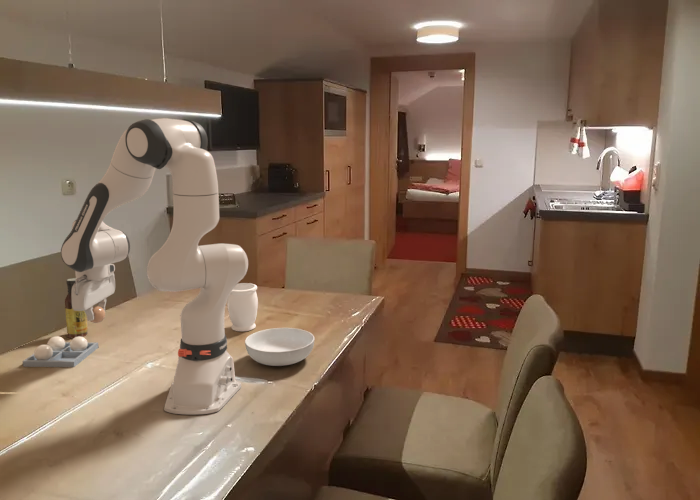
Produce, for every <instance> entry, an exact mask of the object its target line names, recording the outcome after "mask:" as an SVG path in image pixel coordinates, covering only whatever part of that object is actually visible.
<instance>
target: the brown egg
mask: <svg viewBox="0 0 700 500" xmlns="http://www.w3.org/2000/svg"><path fill="white" fill-rule="evenodd" d="M92 310H93V313H95V319H94V320H93V321H90V322H91V323H92V324H99V323H101V322H103V320H104V319H105V317H106V310H105V311H104V309H103V308H101V307H99V306H98V305H93V309H92Z"/></svg>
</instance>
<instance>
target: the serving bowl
mask: <svg viewBox="0 0 700 500" xmlns="http://www.w3.org/2000/svg"><path fill="white" fill-rule="evenodd" d="M244 345H245V350H246V352H247V354H248V355H249V357H250V358H251V359H252V360H253V361H255V362H257V363H259V364H261V365H264V366H265V365H266V366H272V367H282V366H283V367H284V366H290V365H293V364H296V363H299V362H301V361H303V360H305V359H306V358H307V357H308V356H309V355H310V354H311V353H312V351H313V349H314V345H315V336H314V334H313V333H312V332H310V331H307V330H305V329H301V328H294V327H275V328H267V329H262V330H259V331H256V332H254V333H251V334H249V335H248V336H247V337H246V338H245V339H244Z"/></svg>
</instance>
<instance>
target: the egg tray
mask: <svg viewBox="0 0 700 500" xmlns="http://www.w3.org/2000/svg"><path fill="white" fill-rule="evenodd" d="M70 342H71V341H70ZM70 342H68V341H67V342H66V341H65V347H64V349H63V350H62V351H53V355H52V357H51V358H50V359H49V360H37V359H36V358H35V356H34V353H32V354H31V355H30V356H28V357H27V358H25V359H24V360H22V367H28V368H31V367H32V368H33V367H35V368H38V367H39V368H42V367H43V368H47V367H48V368H76V366H77V365H79V364H80V363H81V362H82V361H84V360H85V359H86V358H87V357H89V356H90V355H92V354H93V353H94V352H95V351H96V350H98V348H99V342H88V341H87V342H88V346H87V348H86V350H84V351H72V350H71V348H70Z"/></svg>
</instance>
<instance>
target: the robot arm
mask: <svg viewBox="0 0 700 500" xmlns="http://www.w3.org/2000/svg"><path fill="white" fill-rule="evenodd" d="M208 141H209V139H208V135H207V132H206V130H205V128H204V127H203V126H202V125H201V124H200V123H198V122H196V121H194V120H191V119H178V118H177V119H176V118H175V119H174V118H169V117H168V118H167V117H163V118H154V119H149V118H148V119H147V118H144V119H141V120H138V121H135V122H134V123H132V124H130V126H129V127H128V128H126V129H125V130H124V131H123V133H122V134H121V136H120V138H119V140H118V142H117V144H116V146H115V149H114V151H113V154H112V157H111V160H110V163H109V166H108V168H107V170H106V172H105V173H104V175H103V176H102V178H101V179H100V180H99V181H98V182H97V183H96V184H95V185H94V186H93V187H92V188H91V189H90V191H89V192H88V194H87V197H86V198H85V200H84V202H83V205H82V207H81V209H80V211H79V214H78V216H77V218H76V219H75V220H74V221H73V222H72V226H71V231H70V232H69V233H68V235H67V236H66V237H65V239H64V241H62V242H63V243H62V244H61V249H60V256H61V260H62V262H63V264H65V265H66V266H67V267H68V268H70V269H71V270H73V271H74V272H75V278H76V281H75V284H74V285H73V286H72V292H71V296H72V308H73V310H74V311H84V312H85V313H86V315H87V322H88V321H89V322H91V321H93V320H94V319H95V313H93V310H92V309H93V307H94V306H96V305H97V304H98V305H97V306H99V307H101V308H103V309H104V311H105V312H106V304H107V298H109V297H110V296H111V295H113V294H115V290H116V279H115V273H114V272H115V270H116V266H115V263H119V262H122V261H124V260H126V259H127V257H129V254H130V251H131V242H130V239H129V237H128V236H127V234H126V233H125V232H124V231H122V230H121V229H116V228H114V227H111V226H109V225H107V224H106V223H105V222H104V219H105V218H106V217H107V215H109V213H111V212H112V211H113V210H115V209H117V208H119V207H121V206H123V205H126V204H128V203H131V202H134V201H136V200H138V199H140V198H142V197H143V196H144V195H145V194H146V193H147V191H148V190H149V189H150V187H151V184H152V182H153V178H154V175H155V172H156V170H162V169H163V168H164V167H165V168H167V170H168V171H169V172H170V174H171V178H172V179H171V181H172V198H173V199H172V201H173V215H172V216H173V219H172V226H171V230H170V232H169V235H168V236H167V239H166V241H165V242H164V243H163V245H161V247H160V248H159V249H158V250H156V251H155V252H154V253H153V254H151V257H150V258H149V260H148V262H147V266H146V275H147V276H146V277H147V278H148V281H149V283H150V284H151V286H152V287H153V288H155V289H156V290H157V291H158V292H160V291H161V292H183V291H189V290H196V289H200V290H199V293H198V294H197V295H196V296H195V297H194V298H193V299H192V300H191V301H189V302H187V303H186V304H185V305H184V307H183V308H182V309H181V312H180V315H179V316H180V329H181V338H180V343H179V349H178V350H177V356H178V358H177V359H178V360H177V365H176V368H175V374H174V377H173V378H174V379H173V381H172V383H171V385H170V389H169V392H168V394H167V397H166V400H165V402H164V407H163V410H164V411H165V412H167V413H170V414H173V415H174V414H176V415H187V416H189V415H191V416H192V415H196V416H197V415H206V414H207V415H208V414H213V413H216V412H217V413H218V412H220V411H221V409H222V408H223V407H224V406H225V405H226V404H227V403H228V402H229V401H230V400H231V398H233V396H234V395H236V394H237V393H238V391H239V390H240V389H241V388H242V383H241V381H239V380H236V375H235V374H236V373H235V364H234V358H233V356H232V355H230V353H229V352H228V351H227V349H228V338H227V334H225V333H226V332H225V313H226V312H225V311H226V305H227V299H228V297H229V295H230V293H231V291H232V290H233V288H234V287H235V286H236V284H239V282H241V280H243V279H244V278H245V276H246V275H247V272H248V268H249V259H248V255H247V253H246V252H245V250H244V249H243V247H241V245H238V244H235V243H223V242H222V243H213V244H203V245H199V243H200V241H201V239H202V238H203V237H204V236H205V235H206V234H207V233H209V232H211V231H212V230H214V229H215V228H216V227H217V225H218V224H219V221H220V198H219V197H220V196H219V182H218V175H217V174H218V173H217V169H216V164H215V160H214V159H215V158H214V157H213V155H212V153H211V152H209V151H208V150H207V148H208V144H209V142H208Z"/></svg>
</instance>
